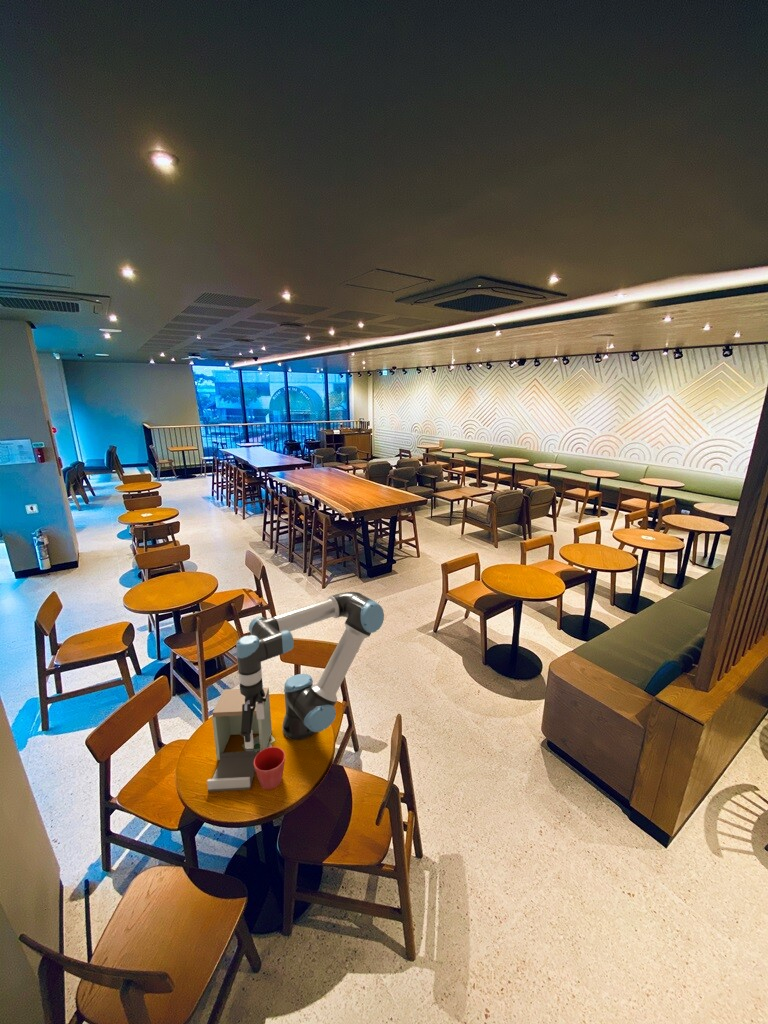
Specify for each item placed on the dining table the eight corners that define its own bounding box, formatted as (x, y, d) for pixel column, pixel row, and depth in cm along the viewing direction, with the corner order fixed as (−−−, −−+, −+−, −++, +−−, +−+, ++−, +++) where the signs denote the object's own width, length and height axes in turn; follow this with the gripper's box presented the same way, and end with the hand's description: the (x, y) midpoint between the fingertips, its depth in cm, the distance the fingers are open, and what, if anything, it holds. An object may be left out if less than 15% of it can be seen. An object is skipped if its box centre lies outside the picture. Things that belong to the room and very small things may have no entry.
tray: (260, 756, 154) (259, 746, 154) (250, 789, 140) (249, 778, 139) (222, 758, 154) (221, 748, 153) (208, 791, 139) (207, 781, 138)
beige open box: (271, 730, 167) (268, 687, 163) (264, 757, 154) (260, 711, 149) (228, 732, 166) (224, 689, 162) (216, 760, 153) (211, 713, 148)
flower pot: (278, 796, 138) (276, 773, 136) (249, 790, 140) (247, 767, 138) (291, 771, 148) (290, 749, 146) (264, 766, 150) (262, 744, 148)
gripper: (251, 659, 148) (255, 708, 153) (226, 705, 124) (232, 761, 129) (271, 658, 149) (274, 707, 153) (250, 704, 124) (255, 761, 129)
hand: (255, 732), depth 141 cm, fingers open, 13 cm apart
